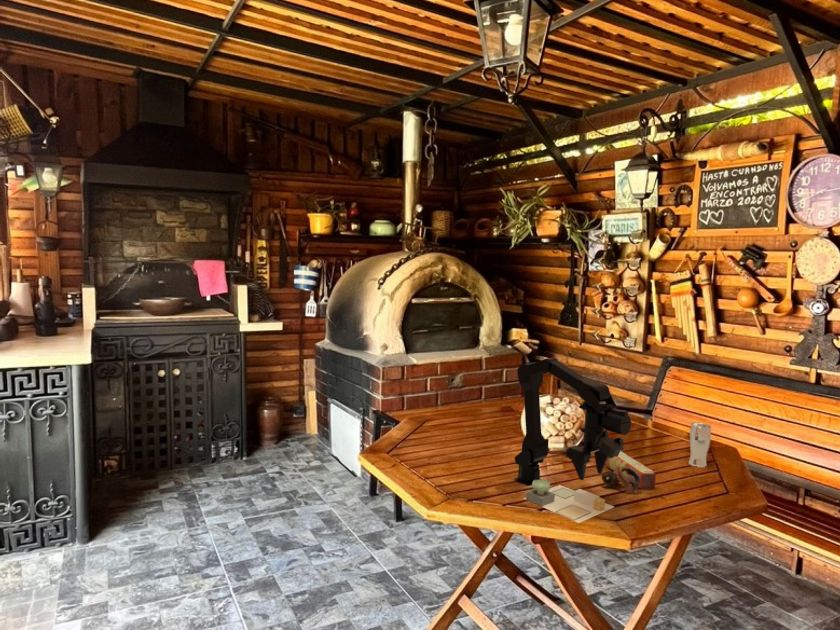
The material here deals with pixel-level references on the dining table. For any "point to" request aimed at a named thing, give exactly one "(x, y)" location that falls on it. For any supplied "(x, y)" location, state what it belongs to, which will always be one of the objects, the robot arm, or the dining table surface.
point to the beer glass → (699, 443)
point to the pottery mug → (621, 479)
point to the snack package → (643, 472)
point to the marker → (589, 499)
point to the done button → (540, 486)
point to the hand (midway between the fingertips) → (590, 476)
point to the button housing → (540, 497)
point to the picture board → (571, 505)
